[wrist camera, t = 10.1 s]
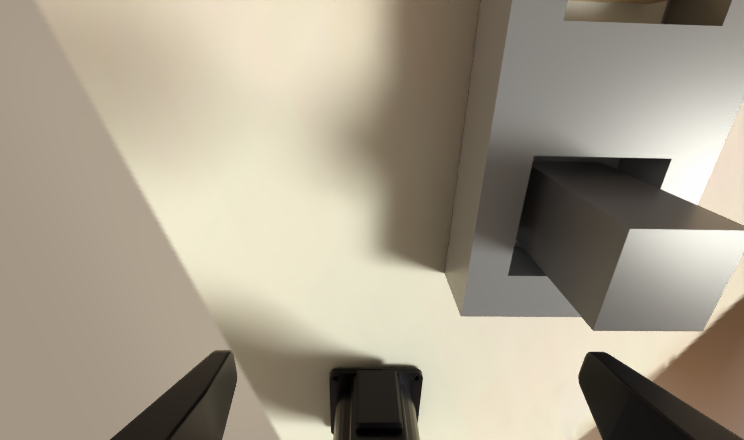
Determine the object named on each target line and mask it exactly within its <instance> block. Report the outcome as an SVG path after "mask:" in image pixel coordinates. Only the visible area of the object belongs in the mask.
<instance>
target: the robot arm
mask: <svg viewBox="0 0 744 440" xmlns="http://www.w3.org/2000/svg"><path fill="white" fill-rule="evenodd" d="M578 379H579V384H580V387H581V389H582V392H583V394H584V397H585V399H586V401H587V404H588V406H589V409H590V411H591V413H592V416H593V418H594V421H595V423H596V425H597V427H598V430H599V432H600V435H601V437H602V439H603V440H744V439H742V438H741V437H739V436H737V435H736V434H734V433H733V432H731V431H729V430H728V429H726V428H725V427H723V426H722V425H720V424H718V423H717V422H715V421H714V420H712V419H710V418H709V417H707V416H705V415H704V414H703V413H701V412H699V411H698V410H696V409H695V408H693V407H691V406H690V405H688V404H687V403H685V402H684V401H682V400H680V399H679V398H677V397H676V396H674V395H672V394H671V393H669V392H668V391H666V390H665V389H663V388H661V387H660V386H658V385H657V384H655V383H653V382H652V381H650V380H649V379H647V378H646V377H644V376H642V375H641V374H639V373H638V372H636V371H635V370H633V369H631V368H630V367H628V366H627V365H625V364H623V363H622V362H620V361H619V360H617V359H616V358H614V357H612V356H611V355H609V354H607V353H605V352H588V353H587V354H586V356H585V358H584V361H583V364H582V367H581V369H580V372H579V377H578ZM422 381H423V377H422V372H421V370H419V369H333V370H332V371H331V372H330V409H331V432H332V434H334V438H333V440H420V438H419V431H418V424H417V423H418V415H419V406H420V398H421V389H422ZM236 382H237V372H236V366H235V360H234V355H233V352H232V351H230V350H216V351H214V352H212V353H211V354H210V355H209V356H208V357H206V358H205V359H204V360H203V361H202V362H200V363H199V364H198V365H197V366H196V367H195V368H193V369H192V370H191V371H190V372H189V373H188V374H186V375H185V376H184V377H183V378H182V379H181V380H179V381H178V382H177V383H176V384H175V385H173V386H172V387H171V388H170V389H169V390H168V391H166V392H165V393H164V394H163V395H162V396H161V397H159V398H158V399H157V400H156V401H155V402H154V403H152V404H151V405H150V406H149V407H148V408H147V409H145V410H144V411H143V412H142V413H141V414H140V415H138V416H137V417H136V418H135V419H134V420H133V421H131V422H130V423H129V424H128V425H127V426H125V427H124V428H123V429H122V430H121V431H120V432H118V433H117V434H116V435H115V436H114V437H113V438H112V439H110V440H222V438H223V434H224V430H225V426H226V422H227V418H228V414H229V410H230V406H231V403H232V398H233V395H234V391H235V387H236Z"/></svg>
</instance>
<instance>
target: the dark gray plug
mask: <svg viewBox="0 0 744 440" xmlns="http://www.w3.org/2000/svg"><path fill="white" fill-rule="evenodd" d="M516 240H517V241H518V242H519V243H520V245H521V246H522V247H523V248H524V249H525V251H526V252H527V253H528V254H529V255H530V256H531V258H532V259H533V260H534V261H535V262H536V264H537V265H538V266H539V267H540V268H541V269H542V271H543V272H544V273H545V274H546V275H547V277H548V278H549V279H550V280H551V281H552V283H553V284H554V285H555V286H556V287H557V288H558V290H559V291H560V292H561V293H562V294H563V296H564V297H565V298H566V299H567V300H568V301H569V303H570V304H571V305H572V306H573V307H574V309H575V310H576V311H577V312H578V313H579V314H580V316H581V317H582V318H583V319H584V320H585V322H586V323H587V324H588V325H589V326H590V327H591V329H592V330H593V331H703V330H704V328H705V326H706V324H707V322H708V320H709V318H710V316H711V314H712V312H713V311H714V309H715V307H716V305H717V303H718V301H719V299H720V297H721V295H722V293H723V291H724V289H725V288H726V286H727V284H728V282H729V280H730V278H731V276H732V274H733V272H734V270H735V268H736V267H737V265H738V263H739V261H740V259H741V257H742V255H743V253H744V226H743V225H741V224H739V223H737V222H734V221H732V220H730V219H727V218H725V217H723V216H721V215H718V214H716V213H714V212H712V211H709V210H707V209H705V208H702V207H700V206H698V205H696V204H693V203H691V202H689V201H687V200H684V199H682V198H680V197H678V196H675V195H673V194H671V193H668V192H666V191H664V190H662V189H659V188H657V187H655V186H653V185H650V184H648V183H646V182H643V181H641V180H639V179H637V178H634V177H632V176H630V175H628V174H625V173H623V172H621V171H619V170H616V169H614V168H612V167H609V166H607V165H605V164H603V163H600V162H561V161H533V163H532V167H531V172H530V176H529V181H528V185H527V190H526V195H525V199H524V204H523V208H522V213H521V218H520V222H519V227H518V231H517V236H516Z"/></svg>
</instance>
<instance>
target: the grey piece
mask: <svg viewBox="0 0 744 440" xmlns="http://www.w3.org/2000/svg"><path fill="white" fill-rule="evenodd" d="M743 99H744V0H668V1H662V2H657V3H652V4H631V3H609V2H587V1H568V0H481V2H480V9H479V17H478V25H477V32H476V40H475V48H474V55H473V63H472V70H471V78H470V86H469V93H468V101H467V108H466V116H465V124H464V131H463V139H462V146H461V154H460V162H459V169H458V177H457V185H456V192H455V200H454V207H453V215H452V223H451V230H450V238H449V245H448V253H447V261H446V268H445V276H446V278H447V281H448V284H449V286H450V289H451V291H452V294H453V297H454V299H455V302H456V305H457V307H458V310H459V313H460V315H461V316H505V317H581V316H580V314H579V313H578V312H577V311H576V310H575V309H574V307H573V306H572V305H571V304H570V303H569V301H568V300H567V299H566V298H565V297H564V296H563V294H562V293H561V292H560V291H559V290H558V288H557V287H556V286H555V285H554V284H553V283H552V281H551V280H550V279H549V278H548V277H547V275H546V274H545V273H544V272H543V271H542V269H541V268H540V267H539V266H538V265H537V264H536V262H535V261H534V260H533V259H532V258H531V256H530V255H529V254H528V253H527V252H526V251H525V249H524V248H523V247H522V246H521V245H520V243H519V242H518V241H517V240H516V236H517V231H518V227H519V222H520V218H521V213H522V208H523V204H524V199H525V195H526V190H527V185H528V181H529V176H530V172H531V167H532V163H533V161H561V162H600V163H603V164H605V165H607V166H609V167H612V168H614V169H616V170H619V171H621V172H623V173H625V174H628V175H630V176H632V177H634V178H637V179H639V180H641V181H643V182H646V183H648V184H650V185H653V186H655V187H657V188H659V189H662V190H664V191H666V192H668V193H671V194H673V195H675V196H678V197H680V198H682V199H684V200H687V201H689V202H691V203H693V204H696V205H698V202H699V200H700V198H701V196H702V193H703V191H704V189H705V186H706V184H707V182H708V179H709V177H710V175H711V173H712V170H713V168H714V166H715V163H716V161H717V159H718V156H719V154H720V152H721V150H722V147H723V145H724V143H725V140H726V138H727V136H728V133H729V131H730V129H731V127H732V124H733V122H734V120H735V117H736V115H737V113H738V110H739V108H740V106H741V103H742V101H743Z"/></svg>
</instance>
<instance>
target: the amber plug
mask: <svg viewBox="0 0 744 440" xmlns="http://www.w3.org/2000/svg"><path fill="white" fill-rule="evenodd" d="M568 1H587V2H609V3H631V4H652V3H657V2H662V1H668V0H568Z"/></svg>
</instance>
